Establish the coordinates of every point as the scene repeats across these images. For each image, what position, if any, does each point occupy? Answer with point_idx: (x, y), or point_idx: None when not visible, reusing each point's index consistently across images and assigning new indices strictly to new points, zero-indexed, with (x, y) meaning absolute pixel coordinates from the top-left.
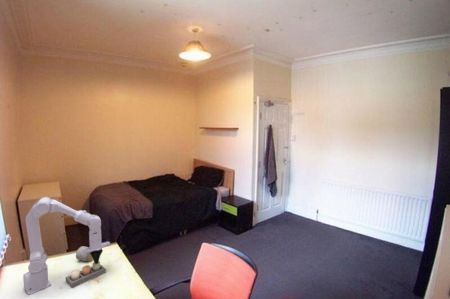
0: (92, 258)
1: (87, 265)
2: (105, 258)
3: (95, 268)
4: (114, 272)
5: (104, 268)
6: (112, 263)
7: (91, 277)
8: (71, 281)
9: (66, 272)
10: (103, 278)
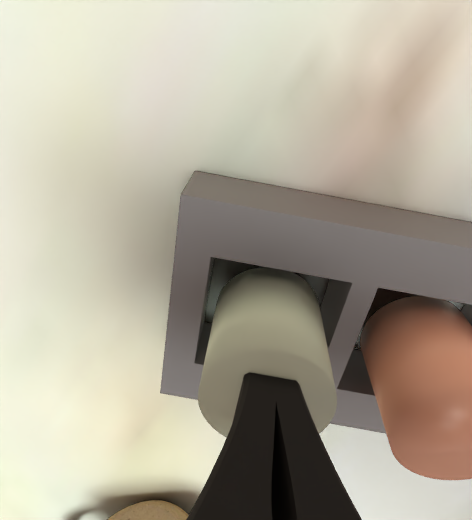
0: (132, 513)
1: (403, 455)
2: (29, 429)
3: (314, 317)
4: (103, 48)
5: (192, 222)
6: (12, 292)
7: (428, 223)
8: None
9: (403, 516)
10: (321, 58)
